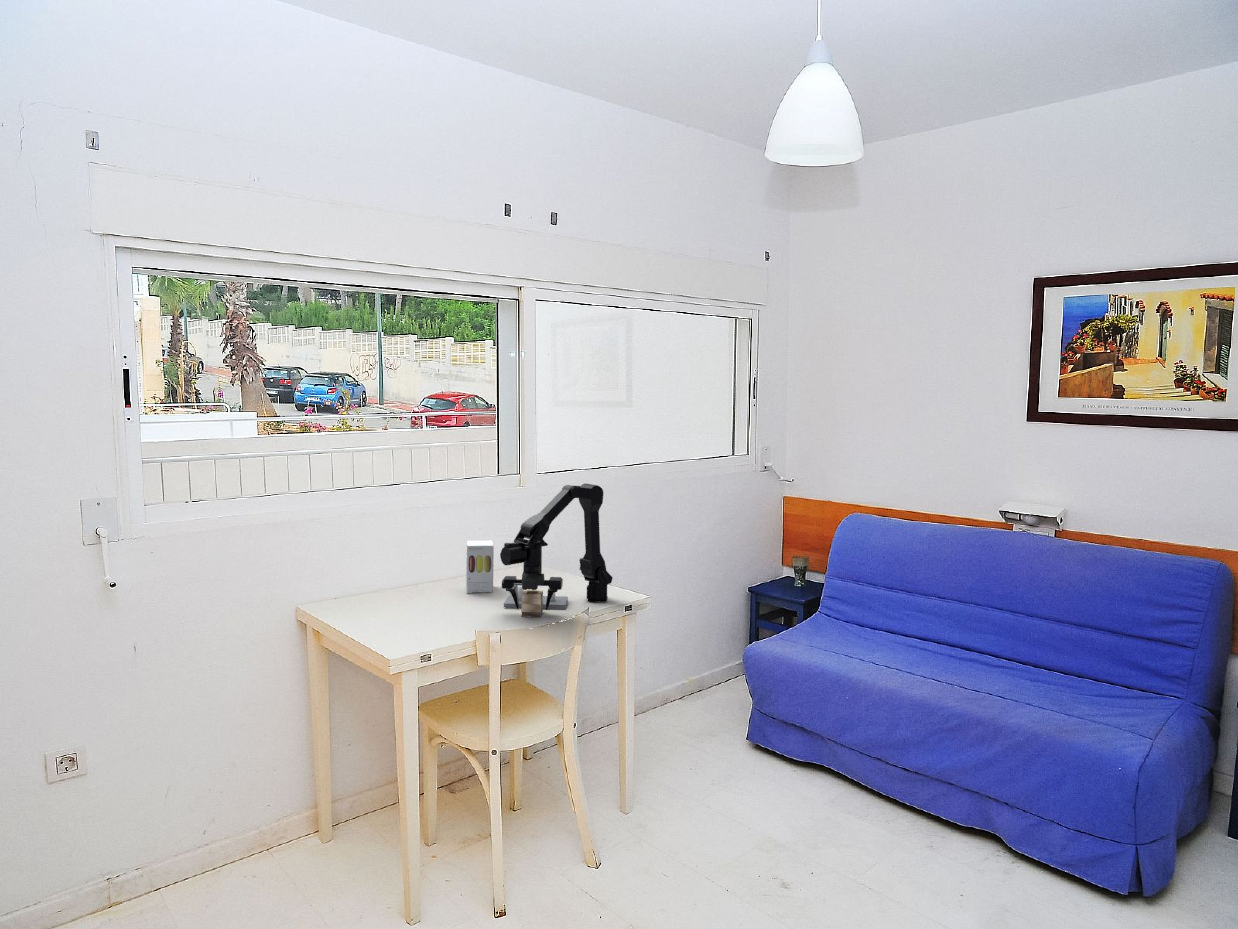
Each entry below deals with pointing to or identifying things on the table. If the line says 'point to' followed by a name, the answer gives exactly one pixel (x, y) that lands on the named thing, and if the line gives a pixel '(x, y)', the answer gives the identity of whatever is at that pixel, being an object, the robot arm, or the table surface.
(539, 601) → the sleeve
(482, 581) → the supplement box
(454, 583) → the table surface
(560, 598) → the pin board
